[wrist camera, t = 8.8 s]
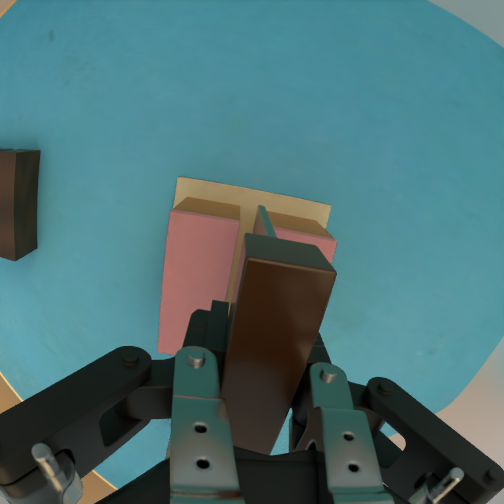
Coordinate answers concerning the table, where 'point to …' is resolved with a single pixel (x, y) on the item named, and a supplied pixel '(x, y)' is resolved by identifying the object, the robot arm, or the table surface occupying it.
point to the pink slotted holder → (222, 245)
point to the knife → (271, 331)
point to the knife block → (18, 202)
